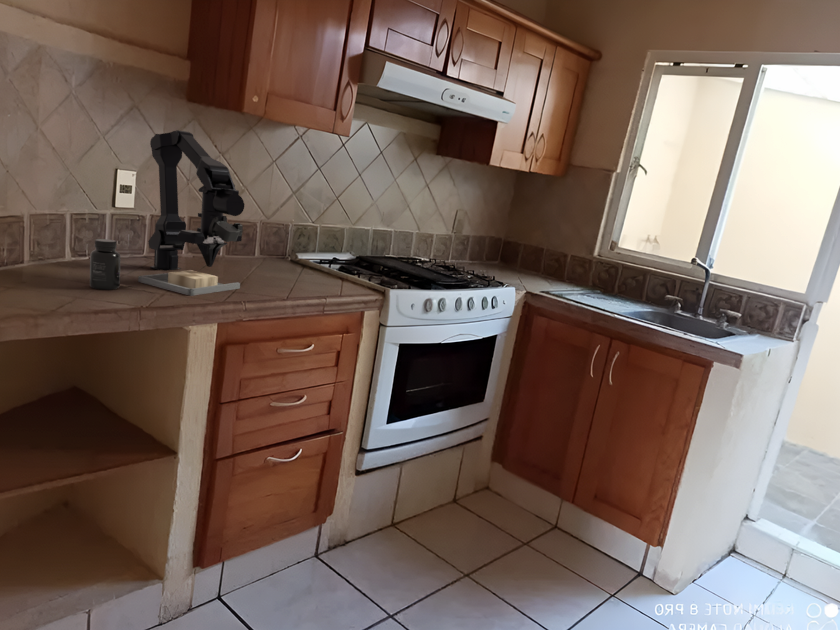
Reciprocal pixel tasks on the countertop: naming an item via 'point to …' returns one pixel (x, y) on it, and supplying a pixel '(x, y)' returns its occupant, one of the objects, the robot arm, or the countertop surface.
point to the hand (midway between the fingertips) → (209, 266)
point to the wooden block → (192, 279)
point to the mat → (162, 282)
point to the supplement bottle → (105, 265)
